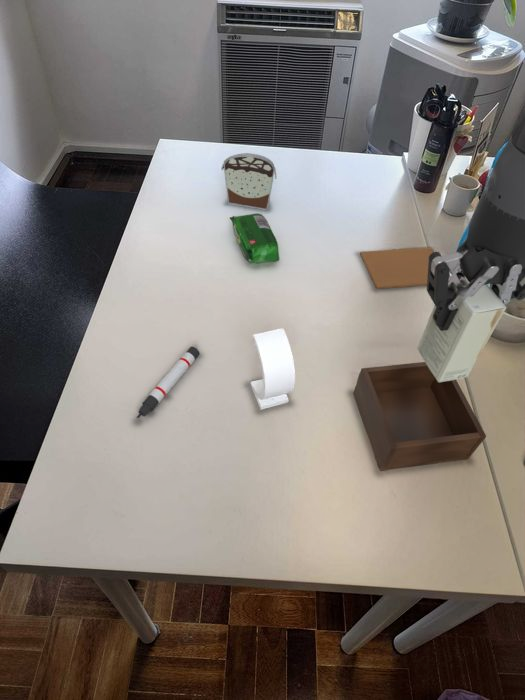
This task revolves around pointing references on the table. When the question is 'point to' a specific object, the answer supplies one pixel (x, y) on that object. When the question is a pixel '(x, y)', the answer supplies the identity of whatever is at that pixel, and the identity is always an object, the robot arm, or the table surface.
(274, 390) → the headphone stand
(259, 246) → the snack package
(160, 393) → the marker
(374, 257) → the mat
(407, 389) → the compartment
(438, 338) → the cosmetic box
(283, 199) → the table surface
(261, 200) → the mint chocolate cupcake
